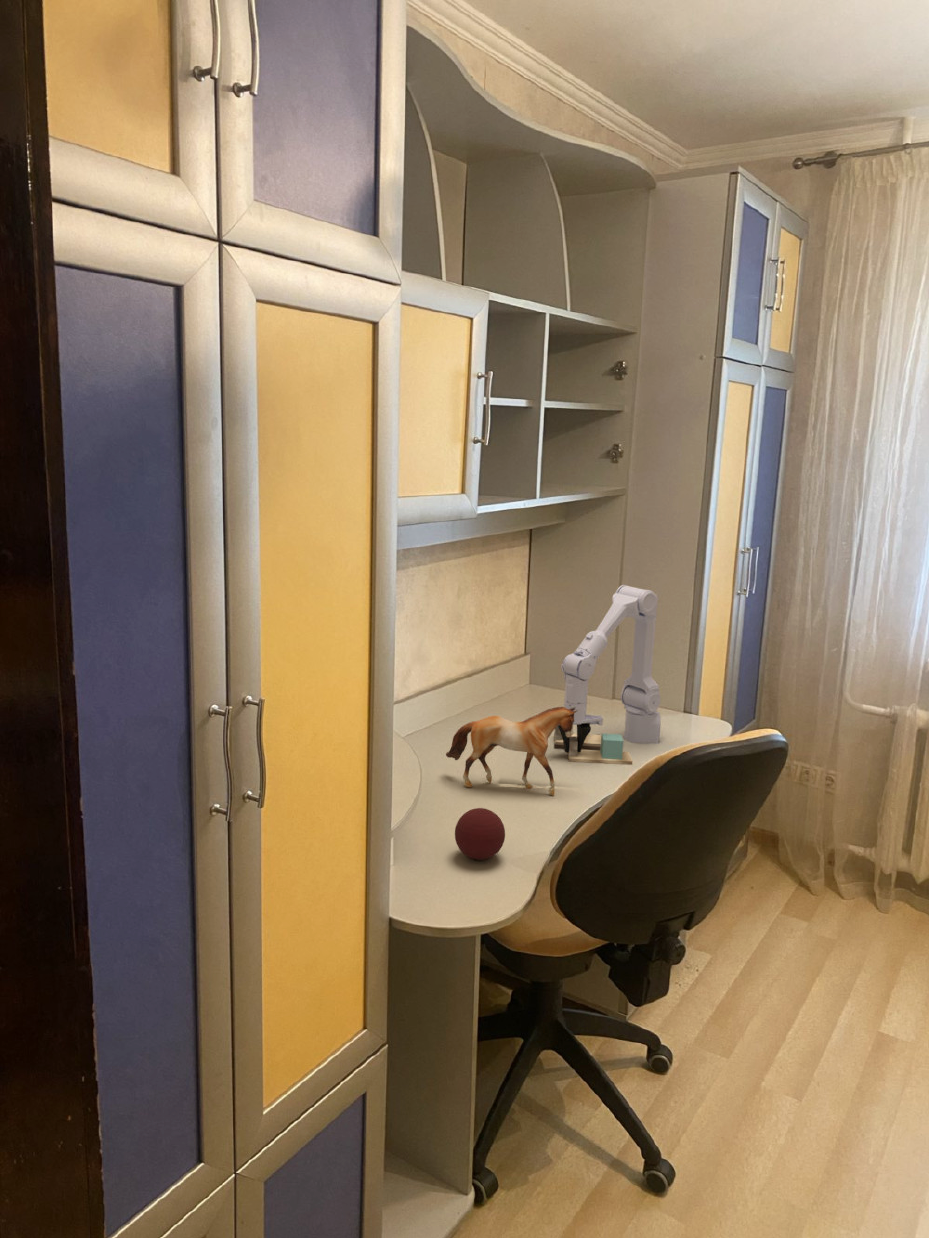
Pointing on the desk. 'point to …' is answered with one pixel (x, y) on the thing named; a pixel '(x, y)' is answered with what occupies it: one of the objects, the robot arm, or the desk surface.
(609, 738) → the teal cube
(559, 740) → the empty strip
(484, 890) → the desk surface
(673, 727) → the desk surface
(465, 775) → the horse figurine
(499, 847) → the decorative ball
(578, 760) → the strip
